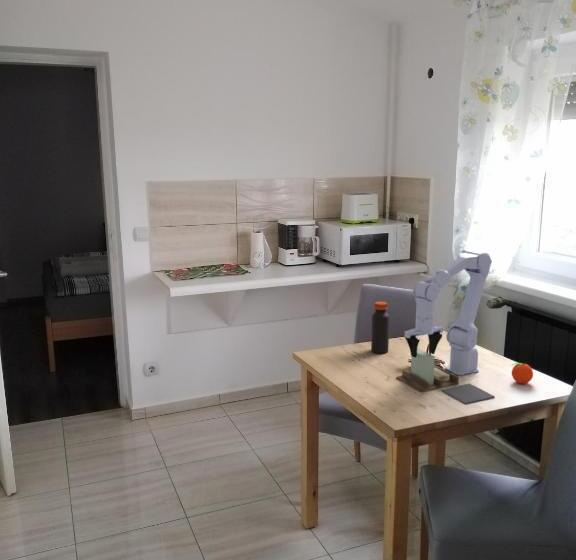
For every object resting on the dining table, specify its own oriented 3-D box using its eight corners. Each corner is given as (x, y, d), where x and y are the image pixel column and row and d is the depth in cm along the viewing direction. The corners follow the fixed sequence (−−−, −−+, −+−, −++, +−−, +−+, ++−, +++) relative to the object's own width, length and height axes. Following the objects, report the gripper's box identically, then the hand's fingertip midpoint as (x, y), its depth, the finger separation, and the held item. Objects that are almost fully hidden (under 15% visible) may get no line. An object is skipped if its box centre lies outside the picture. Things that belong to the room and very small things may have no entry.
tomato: (505, 383, 206) (507, 364, 204) (509, 377, 212) (511, 358, 210) (530, 388, 202) (532, 368, 200) (533, 381, 208) (535, 362, 206)
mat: (469, 384, 205) (469, 383, 205) (494, 397, 195) (494, 396, 194) (441, 390, 200) (441, 389, 200) (465, 404, 190) (465, 402, 190)
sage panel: (417, 375, 212) (418, 348, 210) (433, 384, 204) (434, 356, 202) (410, 376, 211) (411, 349, 209) (426, 385, 203) (427, 357, 201)
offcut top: (435, 370, 215) (435, 367, 214) (449, 377, 208) (449, 374, 207) (423, 372, 213) (423, 369, 212) (437, 379, 206) (438, 377, 205)
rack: (432, 370, 218) (433, 364, 218) (458, 384, 206) (458, 377, 205) (396, 378, 212) (396, 371, 211) (420, 392, 199) (420, 384, 199)
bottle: (380, 355, 235) (382, 306, 231) (367, 351, 240) (368, 303, 235) (391, 351, 239) (393, 303, 235) (378, 347, 244) (379, 300, 240)
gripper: (413, 322, 196) (412, 361, 199) (449, 317, 202) (447, 355, 205) (401, 317, 203) (400, 355, 205) (436, 312, 208) (434, 349, 211)
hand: (422, 354), depth 206 cm, fingers open, 7 cm apart
